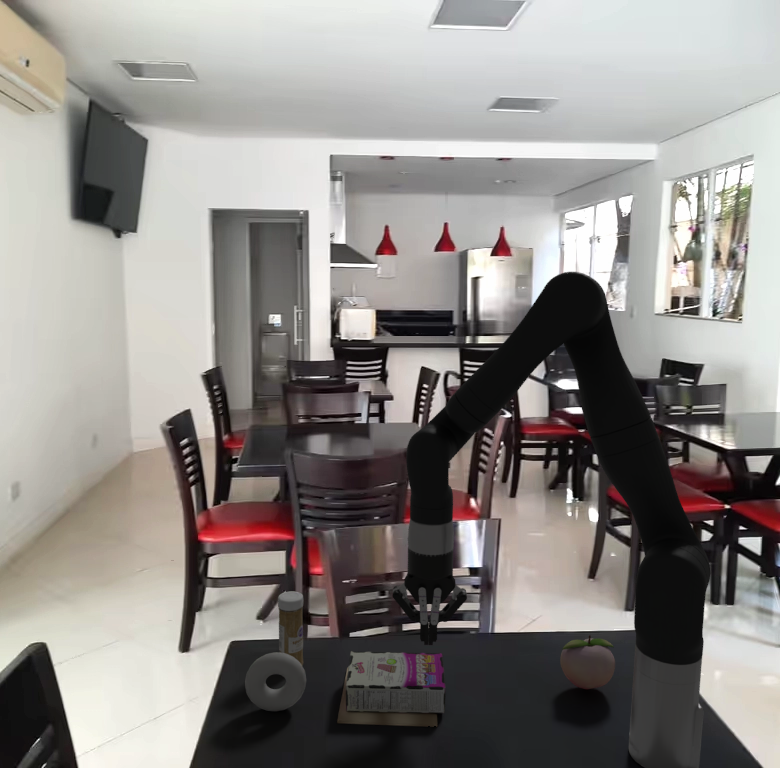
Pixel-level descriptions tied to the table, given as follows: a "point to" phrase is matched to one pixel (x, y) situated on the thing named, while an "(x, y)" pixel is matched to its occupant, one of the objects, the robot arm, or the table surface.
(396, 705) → the candy bar box
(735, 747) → the table surface
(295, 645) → the sprinkles bottle
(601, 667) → the decorative fruit
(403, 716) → the oak mat
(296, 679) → the donut
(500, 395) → the robot arm
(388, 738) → the table surface
